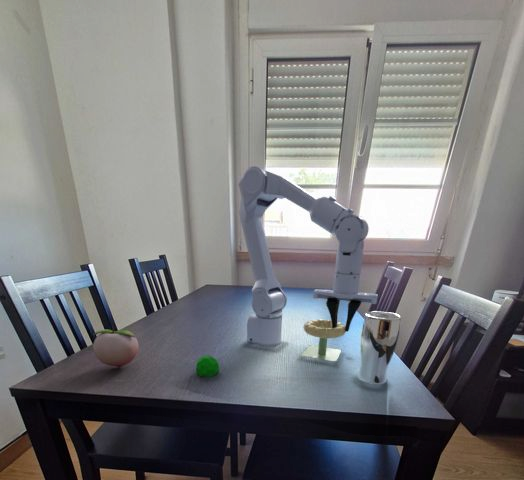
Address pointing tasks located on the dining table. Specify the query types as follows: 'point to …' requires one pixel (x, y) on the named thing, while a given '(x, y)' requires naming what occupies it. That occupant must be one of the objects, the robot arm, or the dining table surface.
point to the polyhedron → (207, 366)
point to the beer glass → (378, 345)
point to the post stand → (322, 351)
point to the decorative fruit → (115, 347)
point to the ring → (324, 329)
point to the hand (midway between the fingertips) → (340, 329)
